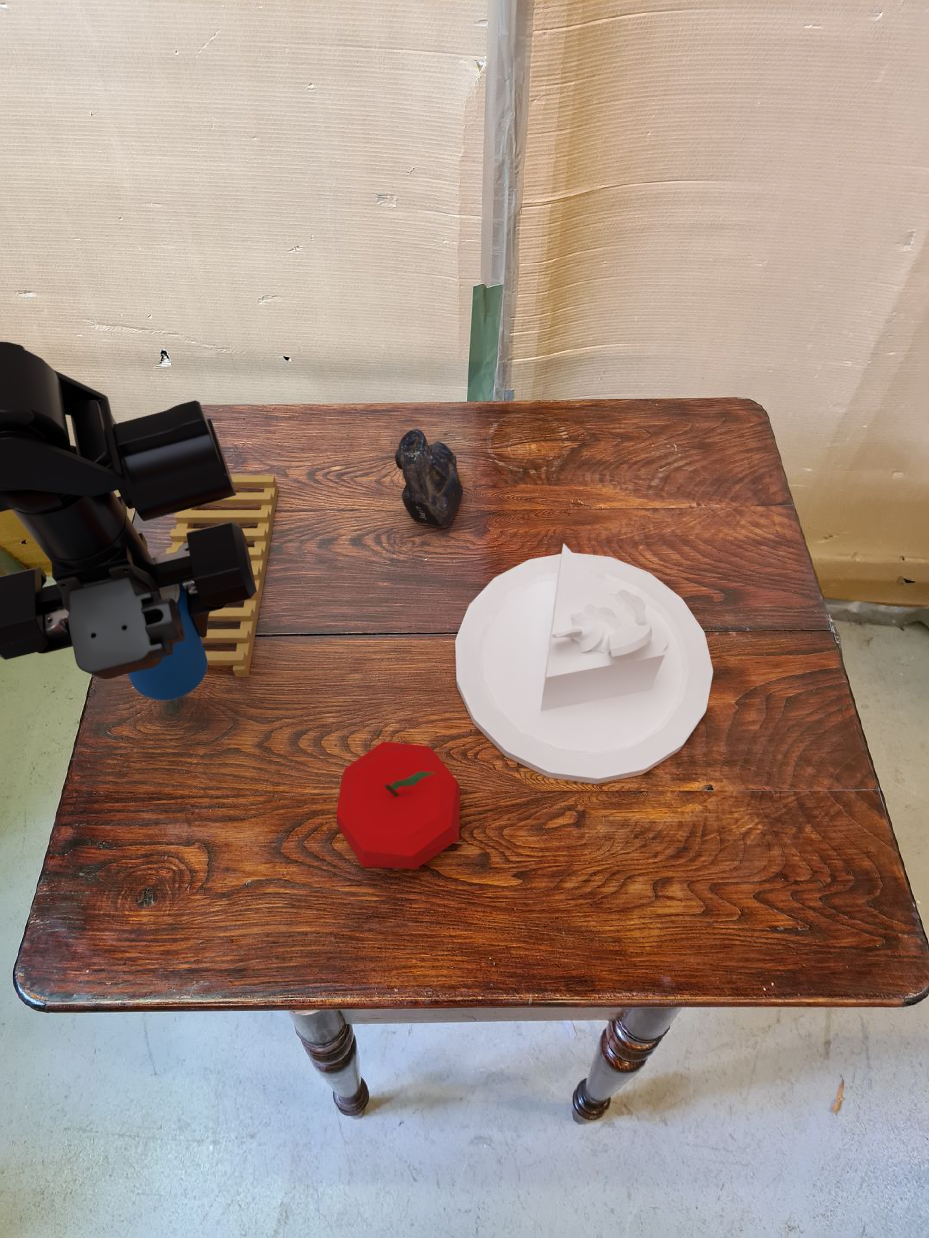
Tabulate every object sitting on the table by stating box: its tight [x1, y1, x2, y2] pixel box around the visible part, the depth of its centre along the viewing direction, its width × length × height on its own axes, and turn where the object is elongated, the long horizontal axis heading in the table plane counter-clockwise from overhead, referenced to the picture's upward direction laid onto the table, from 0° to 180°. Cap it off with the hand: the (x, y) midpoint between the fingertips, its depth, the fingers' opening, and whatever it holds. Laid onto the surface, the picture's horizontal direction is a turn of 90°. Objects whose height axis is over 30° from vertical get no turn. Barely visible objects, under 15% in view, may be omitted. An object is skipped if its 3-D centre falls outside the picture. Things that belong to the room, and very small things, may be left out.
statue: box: [394, 428, 464, 529], centre depth 82 cm, size 6×12×15 cm, turn 161°
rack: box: [165, 474, 280, 678], centre depth 83 cm, size 24×10×2 cm, turn 0°
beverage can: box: [127, 583, 208, 701], centre depth 65 cm, size 6×6×12 cm
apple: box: [335, 741, 462, 871], centre depth 66 cm, size 11×11×10 cm
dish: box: [454, 542, 714, 785], centre depth 73 cm, size 25×25×11 cm
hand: (160, 644), depth 66 cm, fingers closed on beverage can, 7 cm apart
